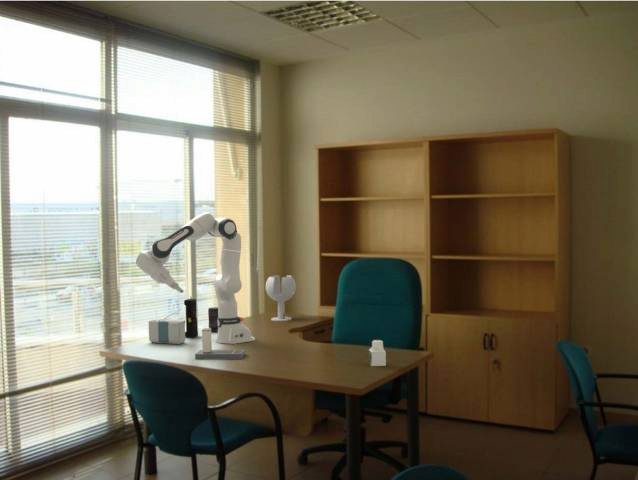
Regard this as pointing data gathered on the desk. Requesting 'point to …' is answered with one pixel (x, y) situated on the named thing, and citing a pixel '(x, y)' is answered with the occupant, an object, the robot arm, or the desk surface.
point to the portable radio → (191, 318)
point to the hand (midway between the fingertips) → (181, 291)
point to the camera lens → (213, 318)
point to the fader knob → (206, 340)
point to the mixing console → (220, 354)
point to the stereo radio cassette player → (167, 331)
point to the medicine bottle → (377, 353)
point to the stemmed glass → (281, 293)
